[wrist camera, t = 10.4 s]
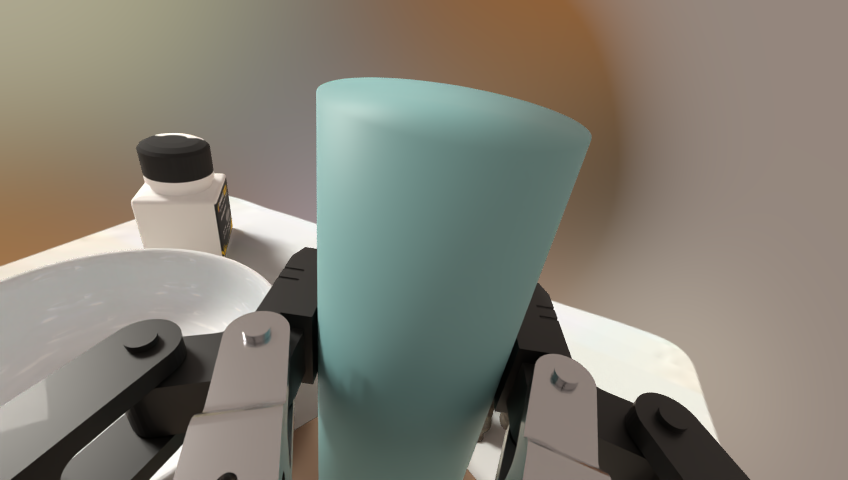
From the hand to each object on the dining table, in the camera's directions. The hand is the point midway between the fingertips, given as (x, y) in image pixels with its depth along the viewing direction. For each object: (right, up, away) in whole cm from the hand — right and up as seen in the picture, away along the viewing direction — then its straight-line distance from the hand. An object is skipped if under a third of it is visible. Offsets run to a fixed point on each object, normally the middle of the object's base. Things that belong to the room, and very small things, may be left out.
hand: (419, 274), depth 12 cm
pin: (-1, -8, +2) cm, 9 cm away
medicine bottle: (-26, +1, +31) cm, 40 cm away
